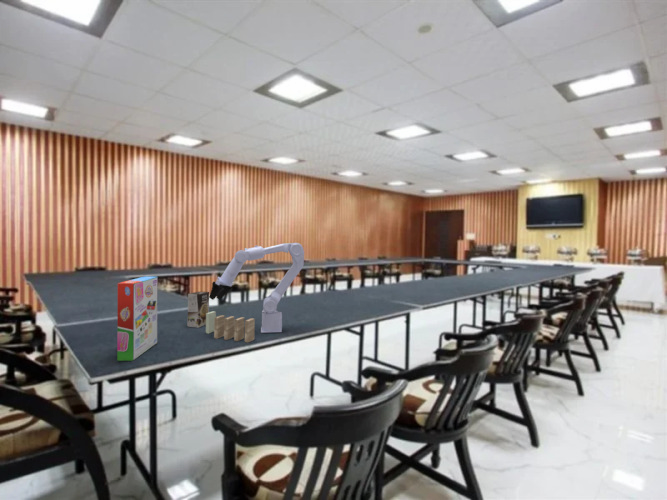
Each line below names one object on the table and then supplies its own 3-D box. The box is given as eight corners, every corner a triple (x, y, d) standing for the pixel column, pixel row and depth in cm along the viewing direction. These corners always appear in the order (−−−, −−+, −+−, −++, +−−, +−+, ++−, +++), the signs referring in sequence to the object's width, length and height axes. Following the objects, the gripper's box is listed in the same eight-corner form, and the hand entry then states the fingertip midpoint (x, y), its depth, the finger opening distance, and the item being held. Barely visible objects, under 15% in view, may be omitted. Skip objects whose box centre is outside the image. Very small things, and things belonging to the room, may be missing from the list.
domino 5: (254, 339, 153) (254, 318, 153) (248, 342, 148) (248, 321, 148) (251, 339, 153) (251, 318, 153) (244, 342, 149) (245, 320, 148)
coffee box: (198, 327, 170) (199, 294, 170) (186, 326, 172) (187, 293, 171) (209, 323, 179) (209, 291, 179) (197, 322, 180) (198, 290, 180)
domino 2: (224, 335, 158) (224, 315, 157) (217, 338, 153) (217, 317, 153) (221, 335, 158) (221, 315, 158) (214, 338, 153) (214, 317, 153)
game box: (143, 343, 143) (144, 276, 142) (157, 343, 144) (158, 276, 143) (116, 361, 123) (117, 282, 122) (133, 361, 123) (133, 282, 122)
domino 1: (215, 330, 165) (215, 311, 165) (208, 333, 161) (209, 313, 160) (212, 330, 166) (212, 311, 166) (205, 333, 161) (206, 313, 161)
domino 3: (234, 336, 156) (234, 316, 156) (227, 339, 151) (227, 318, 151) (230, 336, 157) (231, 316, 156) (224, 339, 152) (224, 318, 152)
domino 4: (244, 338, 154) (244, 317, 154) (237, 341, 150) (237, 319, 150) (240, 337, 155) (241, 317, 155) (234, 340, 150) (234, 319, 150)
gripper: (229, 270, 172) (214, 294, 171) (217, 267, 157) (200, 293, 156) (241, 277, 170) (226, 302, 169) (230, 275, 156) (213, 302, 155)
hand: (214, 298), depth 163 cm, fingers open, 7 cm apart
